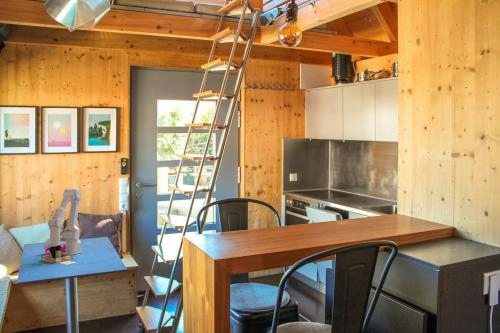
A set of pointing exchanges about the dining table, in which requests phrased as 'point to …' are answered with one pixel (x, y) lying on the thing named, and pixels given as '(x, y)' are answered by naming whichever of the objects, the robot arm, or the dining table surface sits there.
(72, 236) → the robot arm
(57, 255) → the sheet
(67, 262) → the mat
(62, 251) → the toy block
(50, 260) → the wooden tray
